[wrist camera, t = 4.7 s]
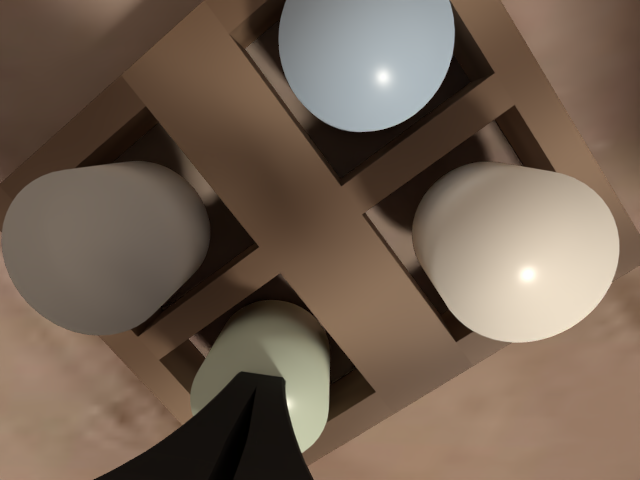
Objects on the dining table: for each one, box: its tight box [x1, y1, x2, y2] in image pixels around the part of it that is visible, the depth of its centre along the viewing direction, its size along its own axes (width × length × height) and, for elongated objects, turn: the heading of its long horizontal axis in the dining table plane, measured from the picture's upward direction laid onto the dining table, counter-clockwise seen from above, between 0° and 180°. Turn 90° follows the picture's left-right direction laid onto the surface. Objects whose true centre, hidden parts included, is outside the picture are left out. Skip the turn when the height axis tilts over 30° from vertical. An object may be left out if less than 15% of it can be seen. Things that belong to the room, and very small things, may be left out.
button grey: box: [2, 161, 210, 335], centre depth 11 cm, size 4×4×3 cm
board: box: [0, 0, 640, 466], centre depth 13 cm, size 13×15×2 cm
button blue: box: [279, 0, 455, 132], centre depth 11 cm, size 4×4×3 cm
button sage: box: [190, 300, 330, 453], centre depth 13 cm, size 4×4×3 cm
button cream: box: [412, 161, 619, 342], centre depth 11 cm, size 4×4×3 cm
